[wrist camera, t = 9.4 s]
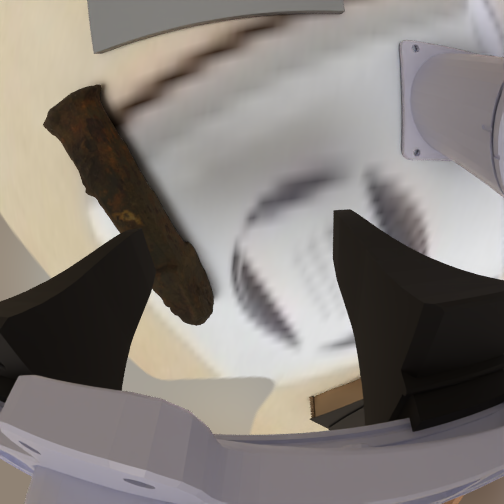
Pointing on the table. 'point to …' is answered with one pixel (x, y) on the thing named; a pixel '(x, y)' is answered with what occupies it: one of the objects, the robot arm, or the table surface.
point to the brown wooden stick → (130, 200)
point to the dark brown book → (339, 407)
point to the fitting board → (182, 16)
